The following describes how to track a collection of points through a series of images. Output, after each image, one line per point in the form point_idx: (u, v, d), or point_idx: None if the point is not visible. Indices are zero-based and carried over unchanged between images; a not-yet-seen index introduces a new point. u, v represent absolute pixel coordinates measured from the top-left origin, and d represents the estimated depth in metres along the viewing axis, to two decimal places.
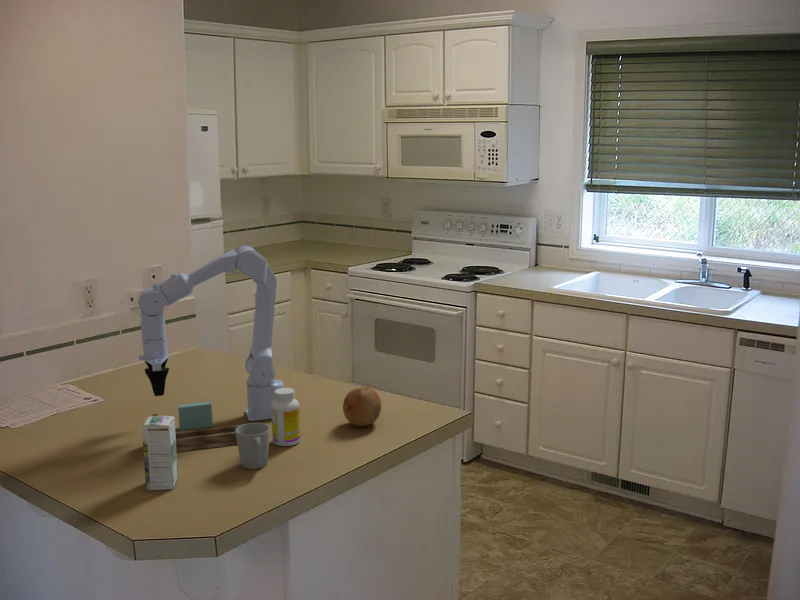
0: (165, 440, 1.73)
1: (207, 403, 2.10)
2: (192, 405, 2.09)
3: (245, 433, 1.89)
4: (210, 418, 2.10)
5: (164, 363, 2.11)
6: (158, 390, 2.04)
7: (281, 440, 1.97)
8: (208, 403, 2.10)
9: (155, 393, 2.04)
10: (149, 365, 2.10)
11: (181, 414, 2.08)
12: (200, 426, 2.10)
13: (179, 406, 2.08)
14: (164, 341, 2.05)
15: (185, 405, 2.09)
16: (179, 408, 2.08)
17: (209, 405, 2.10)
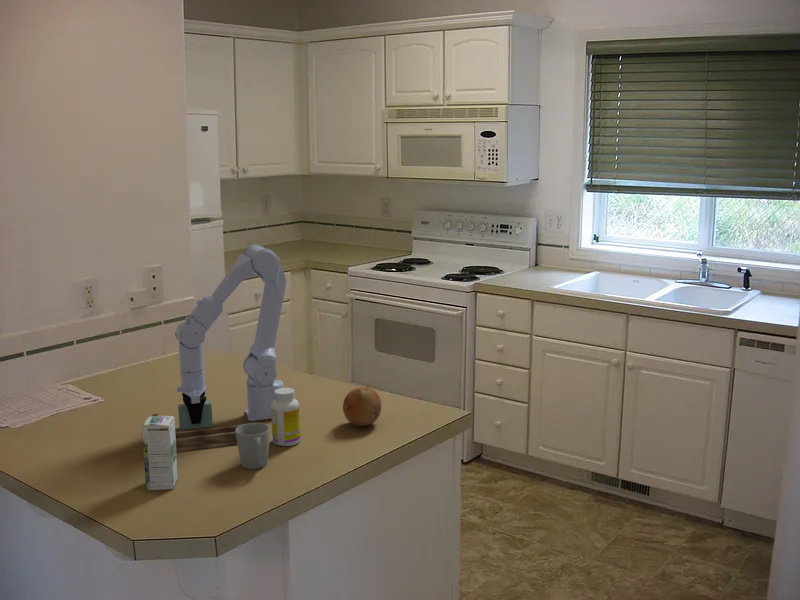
0: (165, 439, 1.73)
1: (207, 403, 2.10)
2: None
3: (245, 433, 1.89)
4: (210, 418, 2.10)
5: None
6: (195, 418, 2.08)
7: (281, 440, 1.97)
8: (208, 403, 2.10)
9: (192, 421, 2.08)
10: None
11: (181, 414, 2.08)
12: (200, 426, 2.10)
13: (179, 406, 2.08)
14: (202, 373, 2.07)
15: (185, 405, 2.09)
16: (179, 408, 2.08)
17: (209, 405, 2.10)
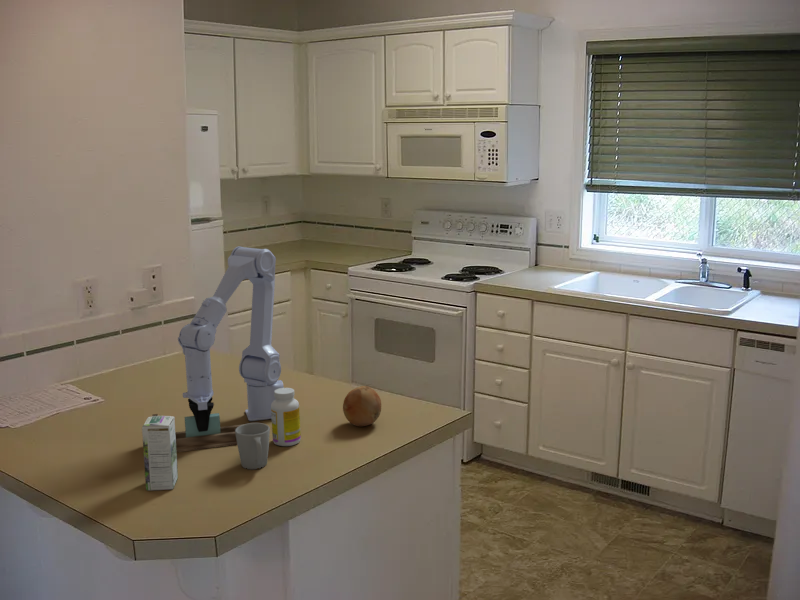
0: (165, 440, 1.73)
1: (215, 415, 2.00)
2: None
3: (245, 433, 1.89)
4: (218, 430, 2.00)
5: None
6: (202, 425, 1.98)
7: (281, 440, 1.97)
8: (216, 415, 2.00)
9: (199, 429, 1.98)
10: None
11: (188, 426, 1.98)
12: None
13: (186, 418, 1.98)
14: (209, 378, 1.96)
15: (192, 417, 1.99)
16: (186, 420, 1.97)
17: (217, 417, 1.99)
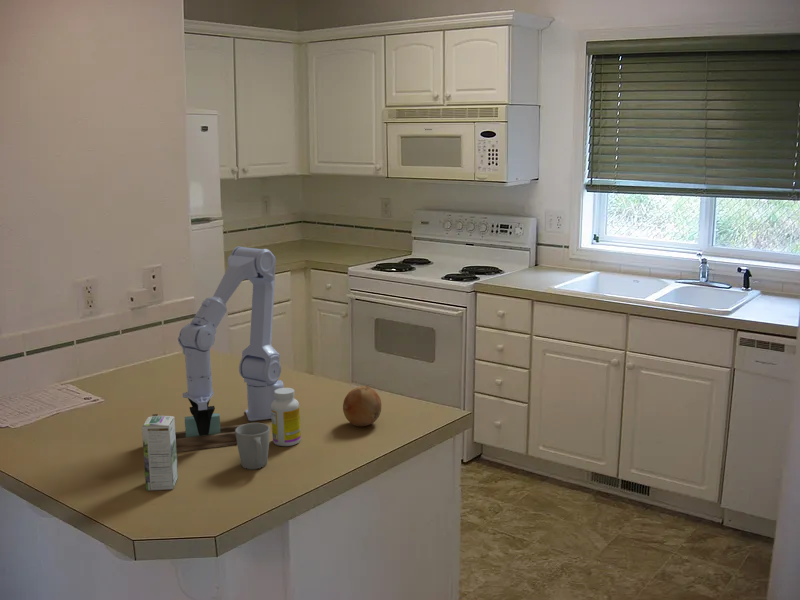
0: (165, 440, 1.73)
1: (215, 415, 2.00)
2: None
3: (245, 433, 1.89)
4: (218, 430, 2.00)
5: None
6: (203, 429, 1.96)
7: (281, 440, 1.97)
8: (216, 415, 2.00)
9: (200, 432, 1.96)
10: (192, 402, 2.02)
11: (188, 426, 1.98)
12: None
13: (186, 418, 1.98)
14: (209, 378, 1.96)
15: (192, 417, 1.99)
16: (186, 420, 1.97)
17: (217, 417, 1.99)
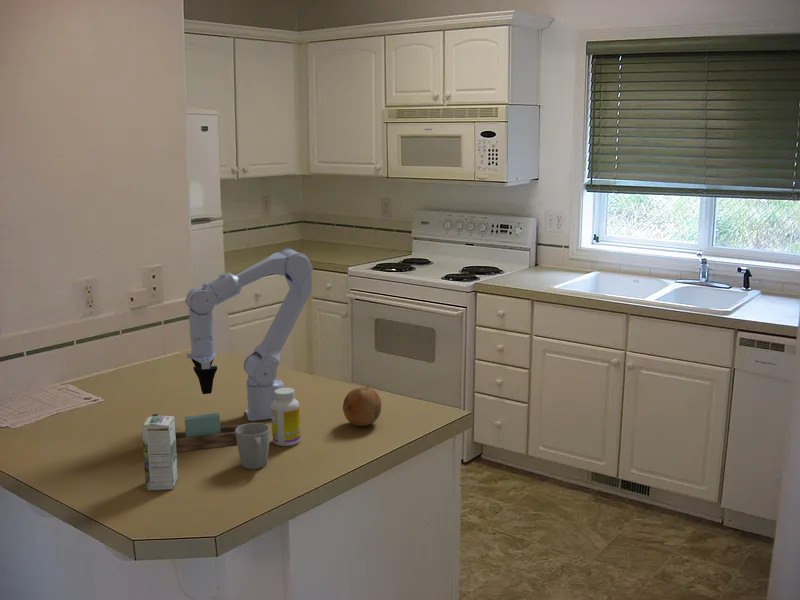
0: (165, 440, 1.73)
1: (215, 415, 2.00)
2: (199, 417, 1.99)
3: (245, 433, 1.89)
4: (218, 430, 2.00)
5: (210, 361, 2.13)
6: (206, 388, 2.06)
7: (281, 440, 1.97)
8: (216, 415, 2.00)
9: (203, 391, 2.06)
10: (196, 363, 2.12)
11: (188, 426, 1.98)
12: None
13: (186, 418, 1.98)
14: (212, 340, 2.07)
15: (192, 417, 1.99)
16: (186, 420, 1.97)
17: (217, 417, 1.99)
